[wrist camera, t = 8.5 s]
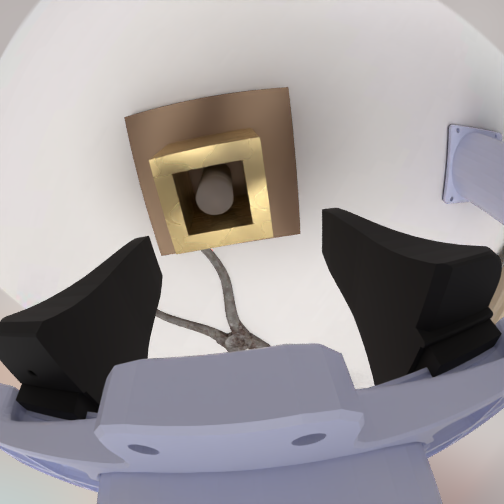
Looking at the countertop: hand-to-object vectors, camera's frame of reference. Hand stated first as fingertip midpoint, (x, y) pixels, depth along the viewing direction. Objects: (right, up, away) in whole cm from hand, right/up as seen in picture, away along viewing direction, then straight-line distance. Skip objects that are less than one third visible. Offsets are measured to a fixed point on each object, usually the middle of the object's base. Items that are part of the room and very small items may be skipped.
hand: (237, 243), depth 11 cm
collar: (-2, +5, +7) cm, 9 cm away
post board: (-2, +6, +8) cm, 10 cm away
